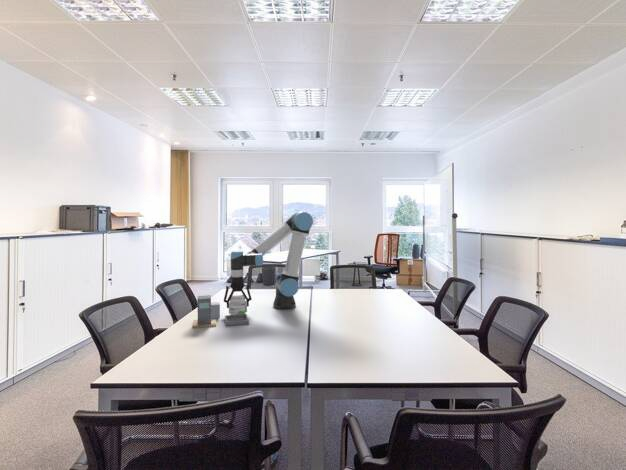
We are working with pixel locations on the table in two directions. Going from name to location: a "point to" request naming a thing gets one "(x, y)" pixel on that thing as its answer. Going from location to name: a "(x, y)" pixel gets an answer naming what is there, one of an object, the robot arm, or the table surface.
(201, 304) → the mounted unit
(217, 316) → the grey block
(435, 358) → the table surface
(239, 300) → the ink box
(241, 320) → the tray
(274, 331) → the table surface
